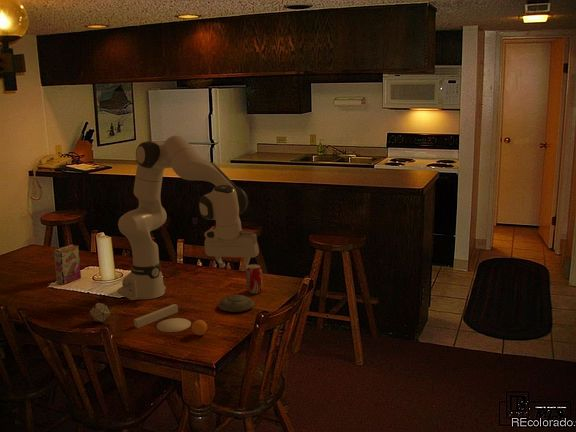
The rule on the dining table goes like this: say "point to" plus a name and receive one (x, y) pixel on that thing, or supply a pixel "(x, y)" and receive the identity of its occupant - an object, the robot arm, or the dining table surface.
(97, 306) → the game die
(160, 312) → the bar
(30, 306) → the dining table surface
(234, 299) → the flying saucer
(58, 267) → the candy bar box
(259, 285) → the soda can
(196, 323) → the ball
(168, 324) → the disc
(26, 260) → the dining table surface
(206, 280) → the dining table surface
